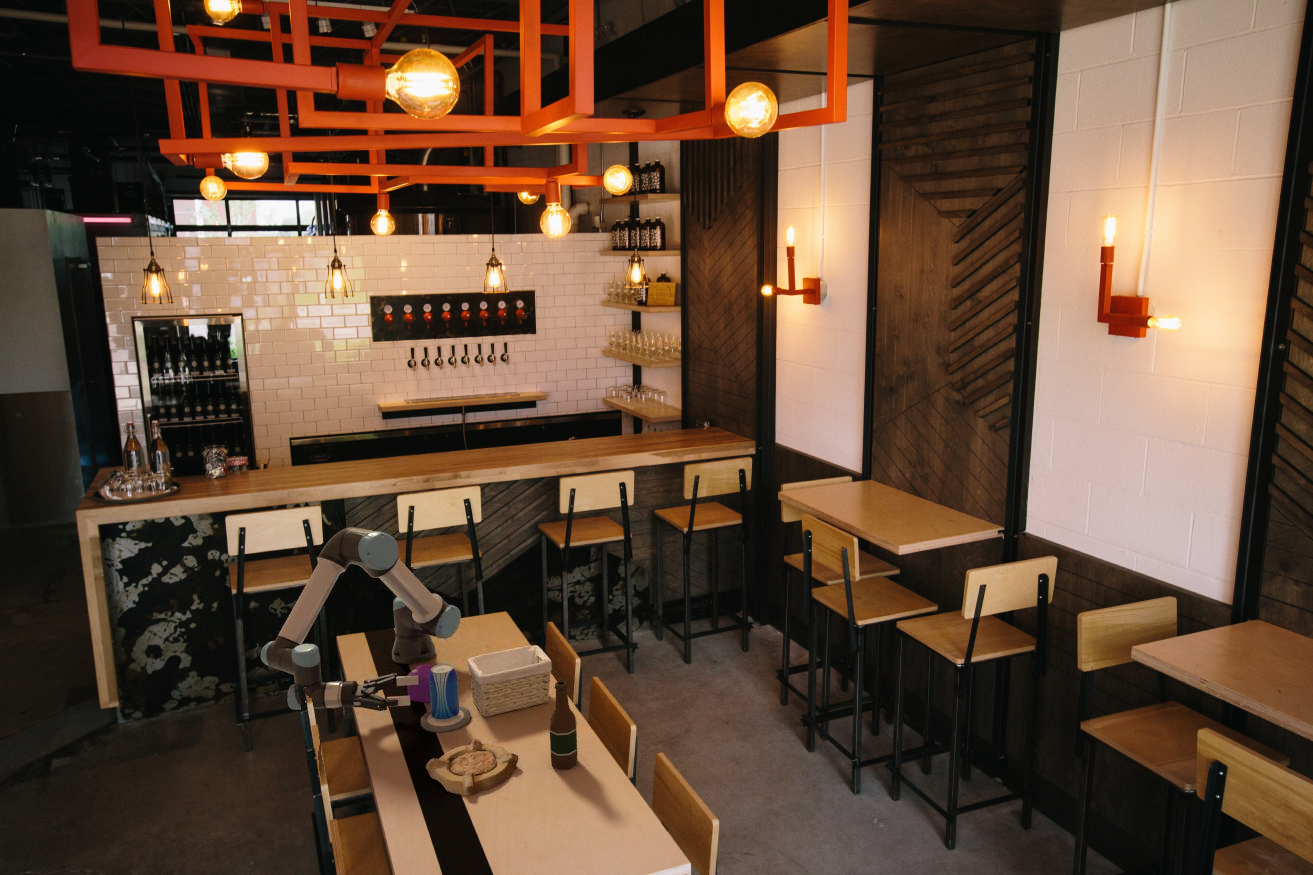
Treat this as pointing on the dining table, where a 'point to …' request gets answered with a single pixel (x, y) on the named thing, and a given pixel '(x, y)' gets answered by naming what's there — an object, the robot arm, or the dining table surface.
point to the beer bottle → (563, 731)
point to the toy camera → (420, 684)
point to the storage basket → (509, 679)
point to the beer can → (444, 693)
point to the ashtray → (473, 768)
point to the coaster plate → (440, 727)
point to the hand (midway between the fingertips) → (414, 689)
